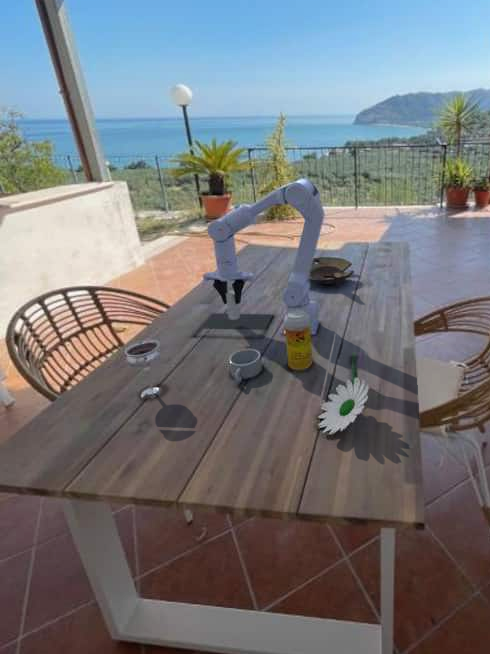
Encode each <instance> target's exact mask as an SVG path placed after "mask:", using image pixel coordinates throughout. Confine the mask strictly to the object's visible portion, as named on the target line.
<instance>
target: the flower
mask: <svg viewBox="0 0 490 654" xmlns="http://www.w3.org/2000/svg"><path fill="white" fill-rule="evenodd" d="M351 377H352V381H351V380H350V379H347V380H346V381H345V382H346V383H345V385H346V386H345V385H343V384H338V386H336V387H335V391H336V393H337V394H336V393H330V394H328V395H327V396H328V399H329V400H331V401H327V402H323V403H322V406H321V407H320V409H321V410H323V411H325V412H323V413H321V414H319V415H318V417H317V419H323V420H322V421H321V422H319V423H318V424H317V426H318V429H322V428H325V429H324V430H323V431H322V432H321V433H322V434H324V433H326V432H328V431H330V432H329V434H328V436H329V435H334V434H335V433H336V432H338V431H340V432H342V431H345V430H346V429H347V427H348V426H349V425H350V424H351V423H354V422H355V421H356V418H357V417H358V416H357V415H360V414H361V413H362V412H363V410H364V409H365V403H367V401H368V399H369V395H368V392H369V389H370V388H369V384H366V380H365V379H362V380H360V377H356V376H355V355H352V356H351Z"/></svg>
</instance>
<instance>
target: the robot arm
mask: <svg viewBox="0 0 490 654" xmlns="http://www.w3.org/2000/svg"><path fill="white" fill-rule="evenodd" d="M320 197H321V196H320V191H319V188H318V187H317V186H316V185H315V183H314V182H313V181H312V180H310V179H309V178H305V177H301V178H298V179H296V181H295V182H293V181H292V182H290V183H287V184H285V185H283V186H280V187H278V188H276V189H273V190H272V191H271V192H269V193H268V194H266V195H265V196H262V198H260V199H258V200H257V201H255V202H254V203H251V204H246V203H242V204H240V203H238V204H237V205H235V206H233V209H232V210H231V211H229V212H227V213H222V214H221V215H220V217H219V218H218V219H215V220H212V221H211V222H210V223H209V225H208V226H207V234H208V236H209V237H210V238H211V240H212V242H213V250H214V257H215V263H216V269H217V271H211V272H204V273H203V275H202V277H203V278H202V279H203V282H208V281H213V283H212V286H213V288H214V289H215V290H216V292H217V293H218V295H219V296H220V298H221V300H222V302H223V304H224V305H227V301H226V293H227V292H229V291H228V281H230V282H231V281H233V283H231V287H232V291H234V293H235V301H236V304H238V305H240V304H241V302H242V294H243V289H244V286H245V283H246V281H247V282H249V283H250V282H251V283H253V282H254V280H255V273H254V272H246V271H239V265H238V264H239V263H238V258H237V257H238V256H237V250H236V249H237V248H236V243H235V241H236V240H235V234H237V233H239V232H241V231H242V230H244V229H245V228H247V227H250V226H252V224H254V223H255V222H256V220H257V216H258V215H260V214H262V213H263V212H264V213H265V211H267V210H269V209H271V208H273V207H274V206H277V205H282V206H286V205H289V206H290V207H292V208H293V209H294V210H296V211H297V212H298V213H299V214H300V215H301V216H302V218H303V219H304V222H303V227H302V231H301V235H300V240H299V244H298V247H297V252H296V255H295V260H294V264H293V268H292V272H291V275H290V276H289V280H288V283H287V285H286V287H285V288H284V289H283V290H282V293H281V299H282V301H283V302H284V305H285V313H286V312H287V311H288V310H290V309H294V308H303V309H305V310H307V312H308V314H309V316H310V333H311V335H316V334H317V331H318V328H319V324H320V320H319V318H320V316H319V303H318V301H315V300H311V298H310V296H309V294H308V293H309V292H310V290H311V281H310V280H309V279H310V270H311V266H312V262H313V258H315V254H316V251H317V246H318V243H319V239H320V236H321V231H322V228H323V224H324V220H325V210H324V207H323V205H322V200H321V198H320ZM283 334H284V335H286V333H285V329H284V330H283Z"/></svg>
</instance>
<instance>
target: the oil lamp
mask: <svg viewBox="0 0 490 654" xmlns="http://www.w3.org/2000/svg"><path fill="white" fill-rule="evenodd" d="M352 265H353V264H352V262H350V261H349V260H347V259H344V258H341V257H330V256H318V257H314V258H313V262H312V266H311V270H310V279H309V280H310V282H313V283H317V284H332V285H334V286H340V285H341V284H342V283H343V281H344V280H346V279H348V278H350V277H352V275H353V274H354V273H355V271H354V270H349V271H347V270H348V269H349V268H350V267H351V266H352ZM345 271H346V272H345ZM326 277H330V278H326ZM331 277H332V278H331Z"/></svg>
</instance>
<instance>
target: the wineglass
mask: <svg viewBox="0 0 490 654" xmlns="http://www.w3.org/2000/svg"><path fill="white" fill-rule="evenodd" d="M159 346H160V342H159V341H157V339H156V340H155V339H143V340H138V341H135V342H134V343H132V344H130V345H128V346H127V347H126V348H125V350H124V352H125V354H126V362H127V364H128V365H129V366H130V367H131V368H132V369H135V370H138V371H145V373H146V376H147V380H148V382H149V385H150V387H148V388H146V389H145V390H143V391H142V392H141V394H140V397H141V398H142V399H143V398H144V396H145V395H155V394H156V393H158V392H159V391H160V388H159V387H157V386H154V385H153V379H152V375H151V369H152V368H153V367H155V366H156V365H157V364H158V363H159V362H160V360H161V357H162V350H161V347H159Z"/></svg>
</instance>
